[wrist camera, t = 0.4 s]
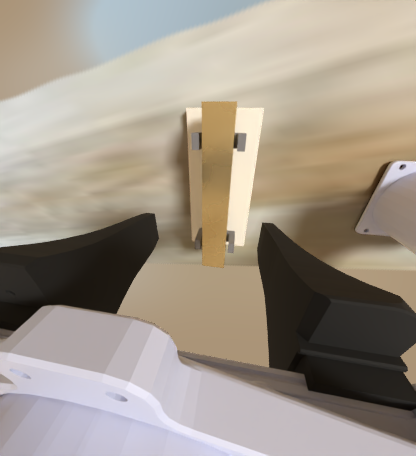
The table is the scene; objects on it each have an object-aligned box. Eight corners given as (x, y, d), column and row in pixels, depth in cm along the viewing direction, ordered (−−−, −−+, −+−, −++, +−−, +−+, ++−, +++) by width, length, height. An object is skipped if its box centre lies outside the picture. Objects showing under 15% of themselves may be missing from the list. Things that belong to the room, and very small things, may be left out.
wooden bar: (237, 105, 14) (236, 101, 11) (225, 254, 21) (223, 267, 19) (207, 105, 14) (201, 101, 12) (205, 252, 21) (202, 265, 19)
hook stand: (262, 109, 16) (271, 102, 12) (243, 240, 24) (244, 267, 19) (189, 108, 17) (171, 102, 12) (193, 236, 25) (183, 260, 20)
